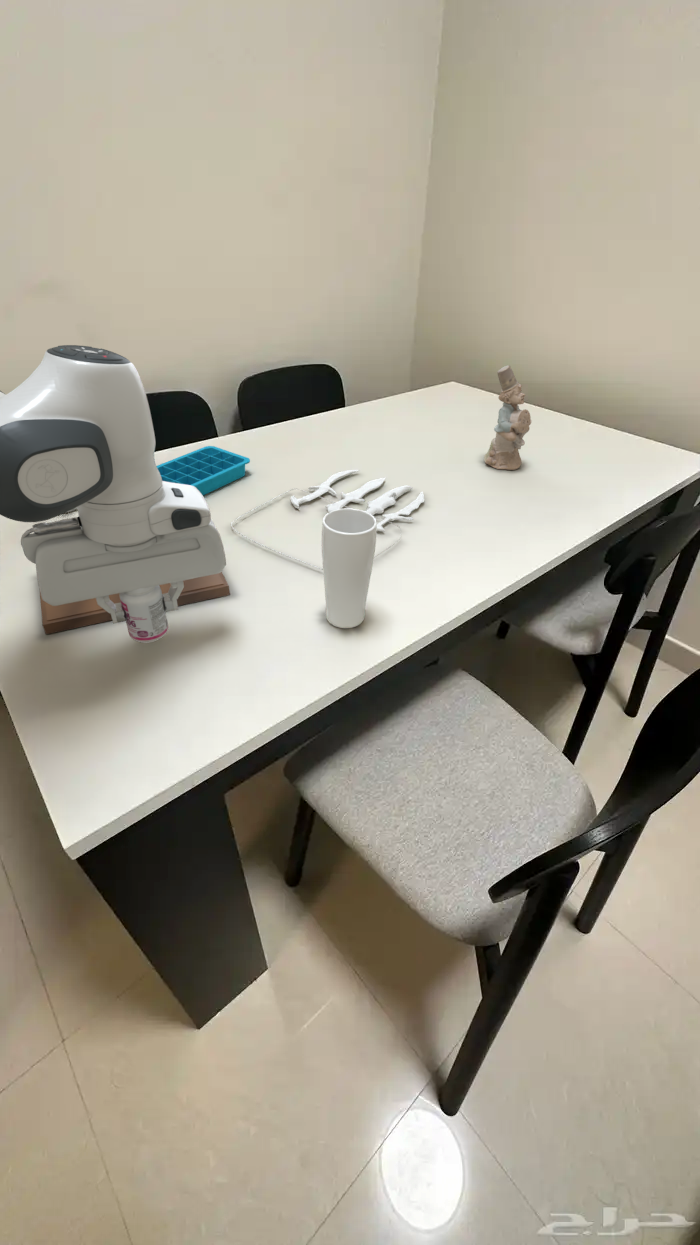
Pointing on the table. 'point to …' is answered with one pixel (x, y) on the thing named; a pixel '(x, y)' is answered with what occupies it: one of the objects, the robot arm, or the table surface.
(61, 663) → the table surface
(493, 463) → the figurine
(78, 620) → the cutting board
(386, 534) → the table surface
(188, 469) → the ice cube tray
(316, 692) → the table surface
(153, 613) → the pill bottle
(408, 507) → the knife set
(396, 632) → the table surface
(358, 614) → the drinking glass
